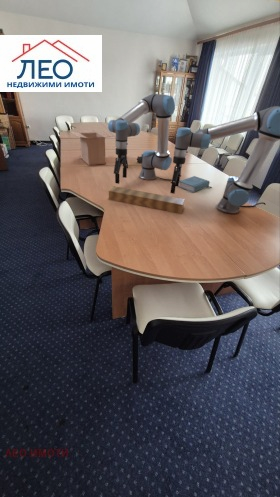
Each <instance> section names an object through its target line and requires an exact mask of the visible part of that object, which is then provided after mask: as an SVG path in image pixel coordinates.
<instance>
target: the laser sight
mask: <svg viewBox="0 0 280 497" xmlns="http://www.w3.org/2000/svg"><path fill="white" fill-rule="evenodd" d="M142 156H143V153H141V156H137V158H136V161H137V162H136V163H140V164H142V158H143V157H142Z"/></svg>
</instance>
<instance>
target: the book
mask: <svg viewBox="0 0 280 497" xmlns="http://www.w3.org/2000/svg"><path fill="white" fill-rule="evenodd" d="M210 183H211V182H210V180H207V179H204V178H202V177H199V176H196V175H193V176H191V177H188V178H184V179H182V180H181V179H180V180H179V186H178V188H181V189H183V190H186V191H188V192H191V193H195V192H198V191H200V190H203V189H205V188H208V187H207V186H210Z"/></svg>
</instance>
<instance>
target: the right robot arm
mask: <svg viewBox="0 0 280 497" xmlns="http://www.w3.org/2000/svg"><path fill="white" fill-rule="evenodd" d="M191 130H192V129H191V128H189V127H185V126H182V127H178V128H177V130H176V136H175V144H174V150H173V157H172V163H173V164H175V165H174V167H173V173H172V178H171V180H172V181H170V184H171V187H170V192H169V193H170V194H173V195H175V194H176V188H179V184H180V182H179V181H181V178H182V168H183V166H182V165H185V164H186V159H187V154H188V153H189V151H188V147H189V148H195V149H201V150H202V149H206V150H207V149H209V147H210V143H211V141H216V140H219V139H223V138H228V137H232V136H235V135H240V134H242V133H247V132H251V131H255V132H258V139H257V141H256V143H255V145H254V146H253V149H252V150H251V152H250V154H249V157H248V158H247V161H246V162H245V164H244V166H243V167H242V170H241V172H240V174H239V176H229V177H228V178H227V181H226V185H225V188H224V191H223V193H222V194H223V195H222V197H221V198H220V200H219V201H218V204H217V206H216V208H217V209H218V211H219V212H222V213H224V214H230V215H235V214H238V213H239V211H240V208H253V207H256V206H258V205H265V206H266V205H267V203H266V202H262V201H261V202H256V203H255V204H253V205H246V204H247V203H248V201H249V200H250V193H251V191H252V189H253V188H254V186H253V183H254V180H255V179H256V178H257V176H258V174H259V172H260V170H261V168H262V166H263V165H264V163H265V161H266V160H267V159H268V158H267V157H268V156H269V154H270V152H271V151H272V149H273V147H274V145H275V143H276V142H278V141H280V105H274V106H270V107H267V108H265V109H263V110H259V111H255V112H254V114H252V115H250V116H245V117H243V118H239V119H234V120H232V121H228V122H224V123H220V124H218V125H217V124H216V125H214V126H213V125H212V126H210V127H207V128H203V129H201V128H200V129H197V130H196V131H195V132H192V131H191Z"/></svg>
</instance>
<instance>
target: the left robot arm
mask: <svg viewBox="0 0 280 497" xmlns="http://www.w3.org/2000/svg"><path fill="white" fill-rule="evenodd" d="M175 110H176V100H175V98H174V97H173V96H172V95H169V94H159V93H151V94H148V95H147V96H145V97H143V98H141V99H140V100H139V101H138V102H137V104H136V105H135V106H134V107H131V108H130V109H129V110H127V111H126V112H125V113H124V114H122V115H121V116H119V117H118V118H116V119H110V120H109V121H108V125H107V128H108V131H109V132H111V133H113V134H115V155H117V157H115V161H114V162H115V163H114V168H113V169H114V170H113V174H114V183H115V184H119V185H120V171H121V167H122V178H125V179H127V176H128V173H127V172H128V169H129V162H128V145H129V143H128V138H130V137H136V136H138V135H140V133H141V127H140V124H139V123H137V122H135V121H137V120H138V119H139V118H140V117H142V116H144V115H147V114H148V113H153V114H155V118H156V119H157V141H156V142H157V143H156V144H157V148H156V150H153V149H151V150H145V151H143V152H142V154H143V156H142V155H141V156H142V157H143V158H142V163H141V169H140V172H139V178H140V179H142V180H146V181H154V180H156V179H160V180H163V181H170V182H172V178H171V179H169V178H163V177H159V176H157V174H156V169H157V170H161V171H167V170H168V169H169V168H170V167H171V165H172V163H173V157H172V156H170V152H169V150H168V149H169V131H170V119H171V118H172V116H173V114H174V113H175ZM206 188H210V189H212V186H210V185H209V186H207V187H206Z"/></svg>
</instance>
